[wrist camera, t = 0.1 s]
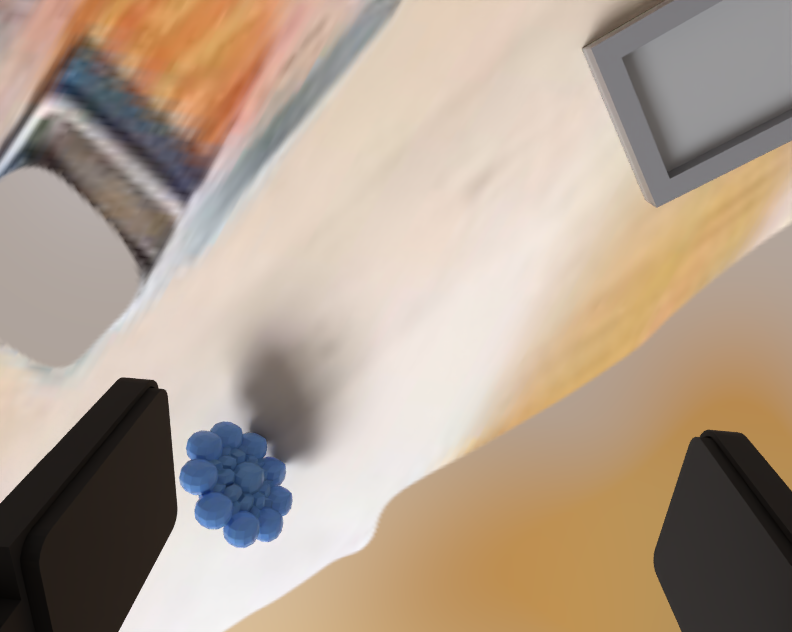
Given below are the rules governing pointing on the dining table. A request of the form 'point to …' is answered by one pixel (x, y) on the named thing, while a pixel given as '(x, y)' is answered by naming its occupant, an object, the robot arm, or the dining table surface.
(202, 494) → the blue bumpy cluster
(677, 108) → the tool case
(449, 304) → the dining table surface
